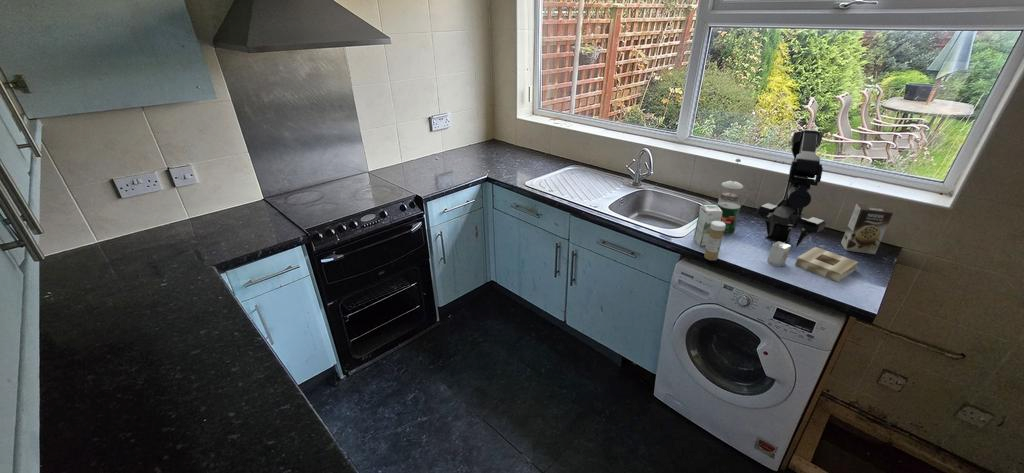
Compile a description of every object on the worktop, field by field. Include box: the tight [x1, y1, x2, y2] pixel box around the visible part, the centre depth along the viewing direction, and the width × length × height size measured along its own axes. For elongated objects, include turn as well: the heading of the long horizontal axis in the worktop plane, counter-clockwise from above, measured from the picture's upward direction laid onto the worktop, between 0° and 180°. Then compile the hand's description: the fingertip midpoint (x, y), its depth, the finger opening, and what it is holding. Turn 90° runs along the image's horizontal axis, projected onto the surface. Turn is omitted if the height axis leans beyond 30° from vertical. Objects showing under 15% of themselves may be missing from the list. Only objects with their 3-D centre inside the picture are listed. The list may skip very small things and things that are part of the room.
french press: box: [716, 158, 749, 206], centre depth 178 cm, size 10×12×25 cm
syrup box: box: [693, 204, 723, 247], centre depth 158 cm, size 6×6×14 cm
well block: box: [794, 246, 859, 283], centre depth 145 cm, size 13×13×3 cm
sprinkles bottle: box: [703, 221, 726, 261], centre depth 149 cm, size 5×5×13 cm
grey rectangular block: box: [766, 241, 792, 268], centre depth 147 cm, size 4×4×7 cm
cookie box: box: [840, 203, 893, 255], centre depth 153 cm, size 9×6×16 cm
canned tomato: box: [717, 200, 742, 236], centre depth 169 cm, size 8×8×11 cm
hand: (782, 240), depth 145 cm, fingers open, 9 cm apart
